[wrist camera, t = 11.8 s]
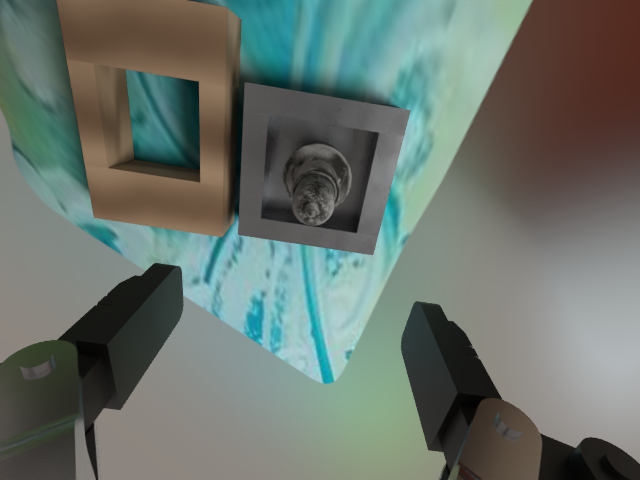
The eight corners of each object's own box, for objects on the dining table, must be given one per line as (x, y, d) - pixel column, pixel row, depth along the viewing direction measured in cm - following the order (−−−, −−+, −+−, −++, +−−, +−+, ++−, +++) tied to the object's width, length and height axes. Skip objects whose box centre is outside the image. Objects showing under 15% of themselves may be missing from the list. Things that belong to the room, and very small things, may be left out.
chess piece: (278, 184, 30) (249, 236, 19) (302, 126, 28) (284, 147, 17) (333, 209, 31) (334, 271, 20) (360, 154, 29) (378, 192, 18)
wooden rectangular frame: (92, -7, 25) (52, -25, 21) (241, 19, 25) (226, 7, 22) (120, 204, 32) (93, 217, 29) (234, 221, 33) (222, 237, 29)
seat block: (256, 83, 27) (244, 82, 24) (400, 108, 28) (410, 110, 24) (248, 219, 33) (238, 234, 29) (368, 237, 33) (373, 255, 30)
